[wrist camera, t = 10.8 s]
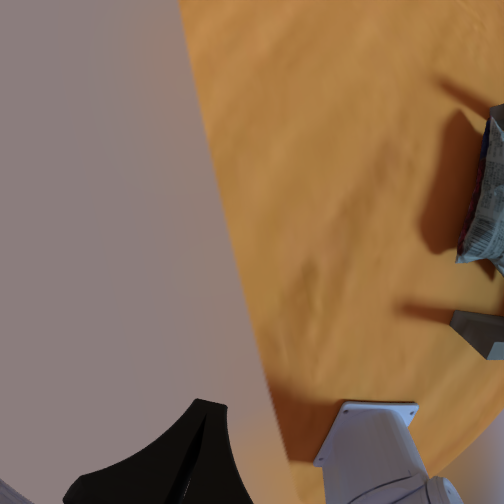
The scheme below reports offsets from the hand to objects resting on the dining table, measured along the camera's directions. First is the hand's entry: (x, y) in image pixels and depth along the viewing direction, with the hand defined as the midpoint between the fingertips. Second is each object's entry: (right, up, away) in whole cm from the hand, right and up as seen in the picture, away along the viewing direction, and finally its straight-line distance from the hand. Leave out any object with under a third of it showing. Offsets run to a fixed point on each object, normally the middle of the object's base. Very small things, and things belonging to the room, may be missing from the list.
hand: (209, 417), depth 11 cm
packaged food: (+22, +11, +7) cm, 26 cm away
